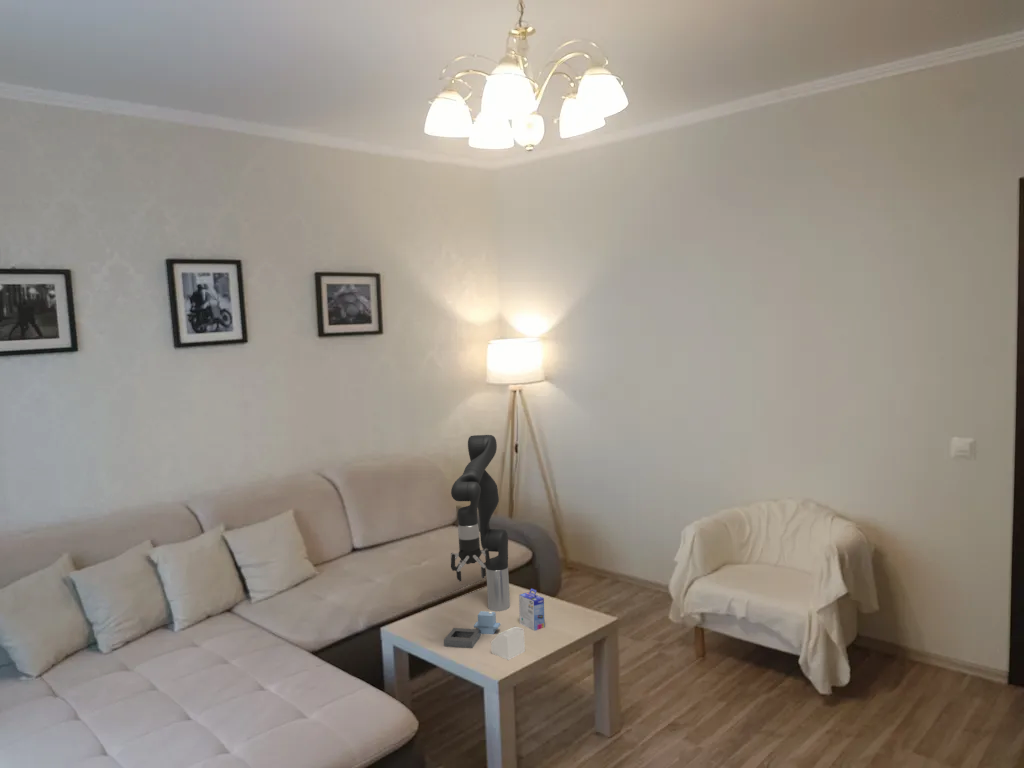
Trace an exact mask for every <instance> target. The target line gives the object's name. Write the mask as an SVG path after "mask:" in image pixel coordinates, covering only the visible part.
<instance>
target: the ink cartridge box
mask: <svg viewBox="0 0 1024 768" xmlns="http://www.w3.org/2000/svg"><path fill="white" fill-rule="evenodd" d="M533 592H534V593H533ZM544 601H545V598H544V597H542V596H541V595H540V596H539V595H537V589H534V588H532V587H531V588H530V590H529V592H524V593H520V594H519V595H518V605H519V606H518V607H519V613H518V614H519V624H520V625H521V626H524V627H525V628H528V629H530V630H531V631H534V632H535V631H538V630H541V629H544V628H545V626H546V624H545V602H544Z"/></svg>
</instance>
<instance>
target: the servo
mask: <svg viewBox="0 0 1024 768" xmlns="http://www.w3.org/2000/svg"><path fill="white" fill-rule="evenodd" d="M496 617H497V616H496V611H491V610H489V611H484V610H483V611H481V610H480V611H479V613H478V614H477V621H476V622H475V623H474V624H473V629H475V628H476V629H480V630H481V635H494V634H495V632H496V631H497V630H498V629H499V628H500V626H501V622H497V618H496Z"/></svg>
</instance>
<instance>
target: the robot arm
mask: <svg viewBox="0 0 1024 768" xmlns="http://www.w3.org/2000/svg"><path fill="white" fill-rule="evenodd" d="M497 444H498V443H497V439H496V438H495V436H494V435H492V434H481V435H479V434H477V435H476V434H475V435H470V436H469V437H468V440H467V449H468V455H469V460H470V461H469V462H468V463H467V465H466V466H465V468H464V470H463V473H462V474H461V475H460V476H459V477H458V478H457V479H456V480H455V481H454V483H453V484H452V486H451V489H450V494H451V498H452V499H453V500H454V501H455V502H470V504H469V505H467V506H463V507H460V508H458V510H457V519H458V520H457V521H458V529H457V533H458V549H459V550H458V552H457V553H454V552H451V553H450V568H451V570H452V571H453V572H456V579H457V580H458V582H462V571H461V570H462V569H463V568H464V566H465V564H466V565H470V564H476V563H477V564H479V565H480V572H481V578H482V579H484V578H485V577H486V589H487V590H486V592H487V608H488V610H489V611H492V612H504V611H507V610H508V609H510V608H511V601H510V600H511V597H510V581H509V579H510V578H509V537H508V536H509V534H508V531H507V530H506V529H501V528H491V527H490V522H491V518H492V516H493V514H494V512H495V511H496V509H497V507H498V505H499V501H500V497H499V490H498V489H499V488H498V485H497V483H496V482H495V479H494V478H493V477H492V475H490V474H489V473H488V471H487V468H488V467H489V465H490V463H491V462H492V460H493V459H494V458H495V456H496V453H497V447H498V445H497ZM478 518H479V521H478ZM481 548H482V549H481ZM490 552H494V553H498V554H497V555H496V556H493V557H490ZM482 554H483V556H484V559H485V562H483V561H482V559H481V558H480V557H481V556H482ZM458 558H459V561H458V563H457V565H456V560H457V559H458Z"/></svg>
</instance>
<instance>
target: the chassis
mask: <svg viewBox="0 0 1024 768" xmlns="http://www.w3.org/2000/svg"><path fill="white" fill-rule="evenodd" d="M481 636H482V634H481V630H480V629H478V628H476V629H475V628H463V627H462V628H461V627H460V628H459V627H452V629H451V630H450V631H449V632H448V634H447V635H446V637H444V639H443V646H444V647H450V648H462V649H464V648H465V649H473V648H474V647H475V646H476V644H477V642H479V639H480V638H481Z"/></svg>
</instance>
